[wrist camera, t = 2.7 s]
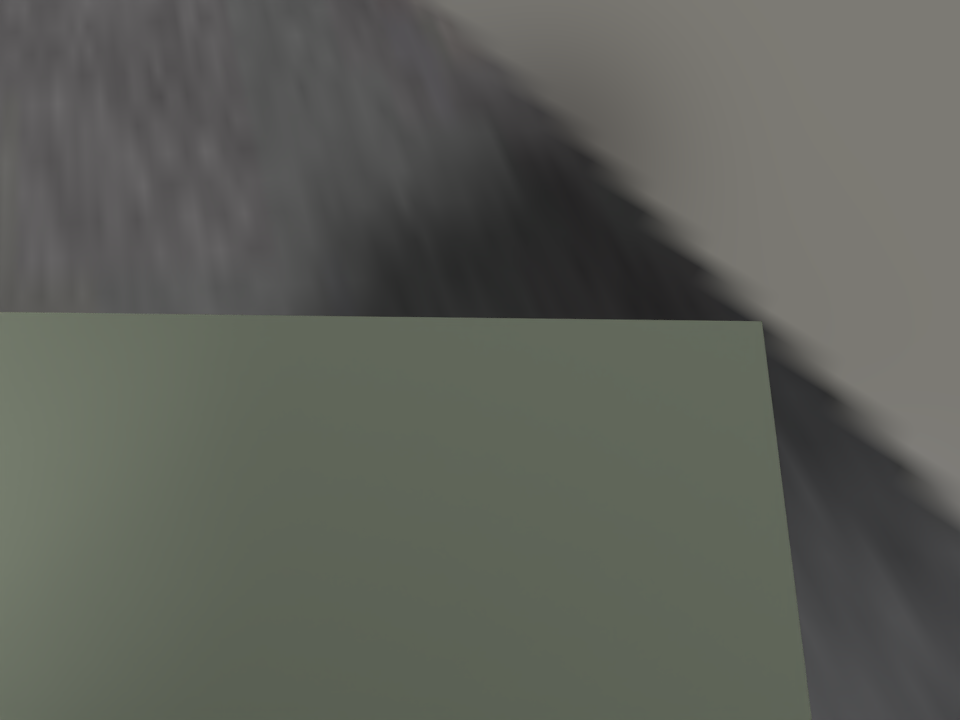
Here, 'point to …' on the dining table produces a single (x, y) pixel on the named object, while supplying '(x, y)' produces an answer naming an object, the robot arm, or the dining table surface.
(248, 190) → the dining table surface
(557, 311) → the dining table surface
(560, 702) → the block
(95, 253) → the dining table surface
